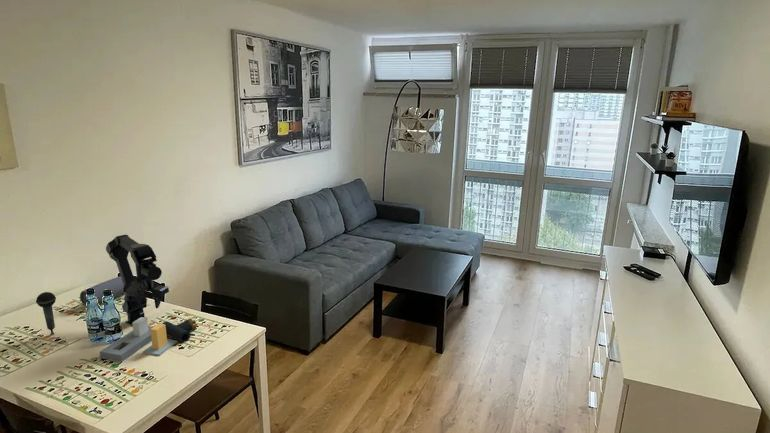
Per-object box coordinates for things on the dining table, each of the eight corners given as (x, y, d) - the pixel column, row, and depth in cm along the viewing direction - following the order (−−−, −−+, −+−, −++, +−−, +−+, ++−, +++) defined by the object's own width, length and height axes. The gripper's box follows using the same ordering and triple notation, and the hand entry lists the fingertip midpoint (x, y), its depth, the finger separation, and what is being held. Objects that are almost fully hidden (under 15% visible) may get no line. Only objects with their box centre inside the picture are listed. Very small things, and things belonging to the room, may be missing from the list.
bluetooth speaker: (122, 289, 237) (119, 272, 234) (134, 292, 234) (132, 275, 231) (80, 307, 216) (77, 288, 214) (93, 310, 213) (90, 291, 211)
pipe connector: (182, 313, 203) (202, 322, 195) (184, 323, 204) (204, 333, 196) (158, 324, 193) (179, 334, 185) (160, 334, 195) (180, 345, 187)
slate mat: (142, 352, 180) (142, 351, 180) (161, 339, 190) (161, 338, 190) (159, 355, 178) (159, 354, 178) (177, 341, 188) (177, 340, 188)
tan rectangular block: (152, 348, 182) (150, 329, 180) (161, 342, 187) (159, 323, 184) (158, 349, 181) (156, 330, 179) (167, 343, 186) (165, 324, 184)
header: (100, 358, 175) (99, 351, 175) (141, 331, 196) (141, 325, 195) (121, 361, 173) (120, 355, 173) (161, 334, 194) (160, 328, 193)
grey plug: (134, 341, 188) (132, 322, 186) (143, 335, 193) (141, 317, 190) (140, 342, 187) (138, 323, 185) (149, 336, 192) (147, 318, 190)
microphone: (39, 336, 190) (31, 293, 184) (57, 329, 195) (49, 288, 190) (48, 340, 186) (39, 297, 181) (65, 333, 192) (58, 291, 187)
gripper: (110, 278, 184) (115, 312, 187) (149, 283, 180) (153, 318, 184) (131, 269, 194) (135, 301, 198) (167, 273, 190) (171, 306, 194)
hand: (148, 306), depth 193 cm, fingers open, 9 cm apart
